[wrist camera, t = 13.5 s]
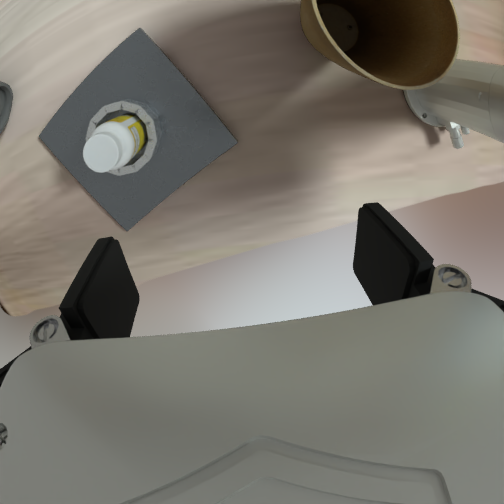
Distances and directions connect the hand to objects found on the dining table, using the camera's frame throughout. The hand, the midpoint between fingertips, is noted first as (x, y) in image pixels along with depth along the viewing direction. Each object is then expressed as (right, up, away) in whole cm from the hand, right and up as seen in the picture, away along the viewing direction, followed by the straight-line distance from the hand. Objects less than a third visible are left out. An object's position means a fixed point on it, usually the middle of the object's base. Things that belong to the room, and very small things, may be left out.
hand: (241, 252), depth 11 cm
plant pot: (+10, +28, +17) cm, 34 cm away
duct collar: (-15, +15, +22) cm, 31 cm away
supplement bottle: (-15, +15, +22) cm, 30 cm away
